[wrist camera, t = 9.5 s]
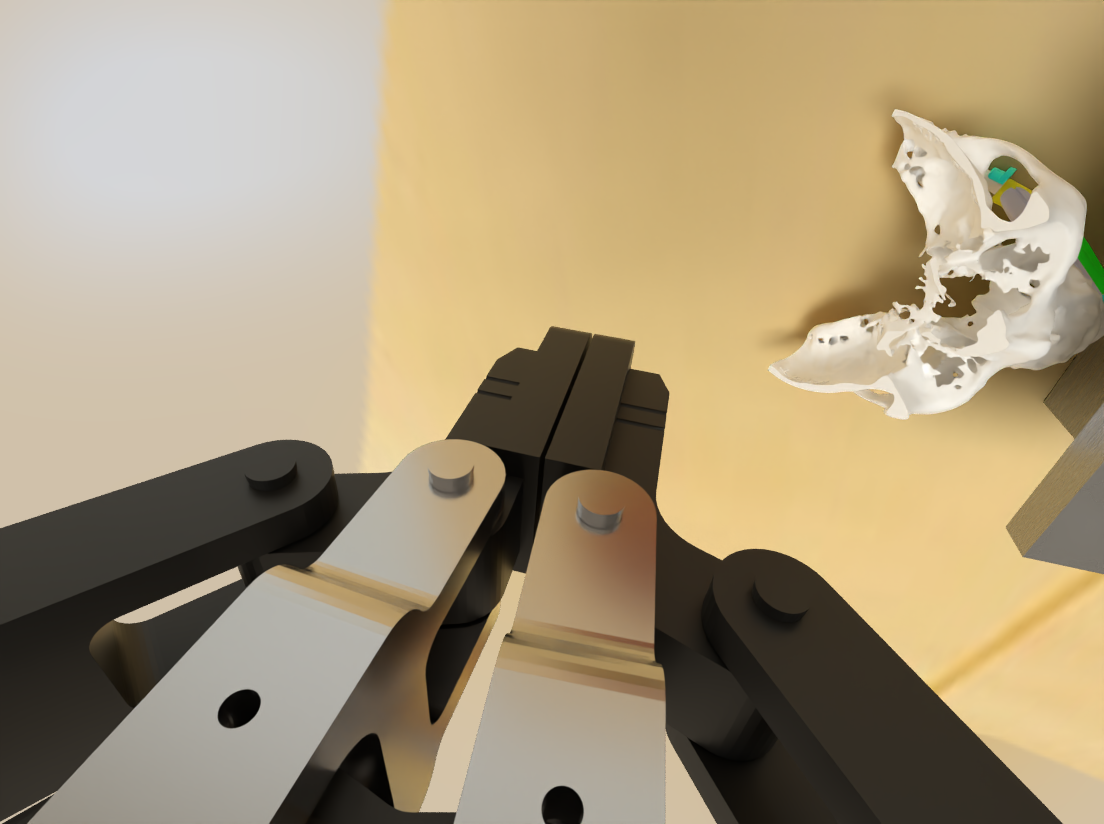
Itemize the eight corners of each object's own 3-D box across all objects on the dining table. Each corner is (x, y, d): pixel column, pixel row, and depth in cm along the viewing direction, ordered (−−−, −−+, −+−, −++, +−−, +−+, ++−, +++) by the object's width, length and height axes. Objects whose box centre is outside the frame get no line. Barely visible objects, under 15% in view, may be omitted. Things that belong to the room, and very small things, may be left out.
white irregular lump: (1029, 441, 28) (927, 487, 23) (875, 349, 33) (767, 370, 29) (1250, 193, 21) (1170, 184, 16) (1007, 129, 26) (895, 108, 22)
